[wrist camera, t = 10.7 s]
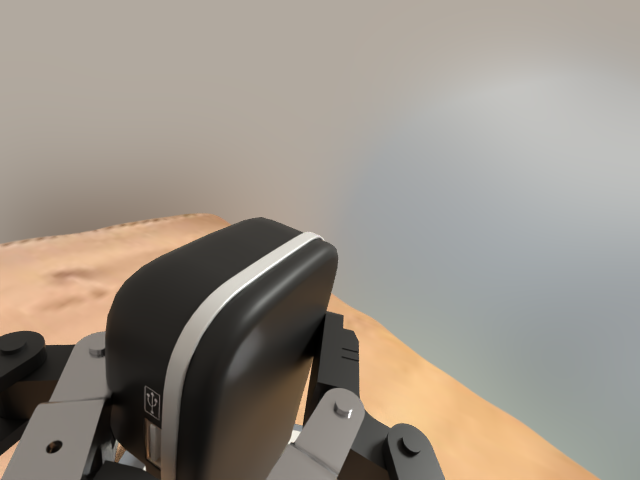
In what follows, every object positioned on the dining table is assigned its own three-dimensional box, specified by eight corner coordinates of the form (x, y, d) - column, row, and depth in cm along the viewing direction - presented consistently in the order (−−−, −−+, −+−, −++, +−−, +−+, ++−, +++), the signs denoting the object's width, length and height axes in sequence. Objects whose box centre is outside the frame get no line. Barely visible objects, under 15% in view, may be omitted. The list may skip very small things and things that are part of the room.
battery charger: (232, 397, 18) (260, 194, 13) (294, 436, 16) (352, 229, 12) (102, 540, 12) (62, 262, 7) (185, 617, 11) (208, 349, 6)
